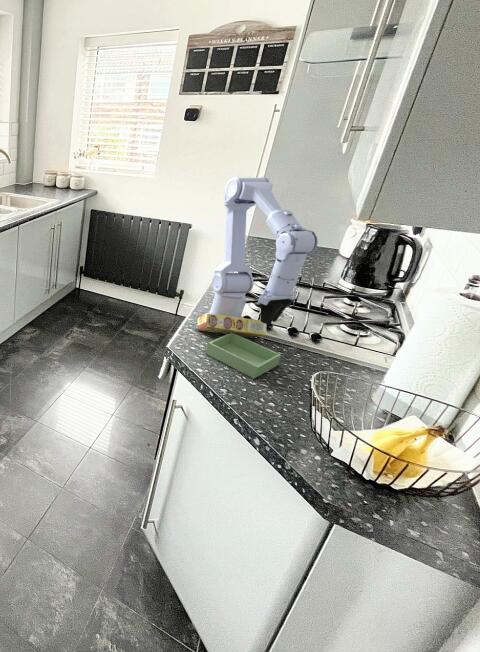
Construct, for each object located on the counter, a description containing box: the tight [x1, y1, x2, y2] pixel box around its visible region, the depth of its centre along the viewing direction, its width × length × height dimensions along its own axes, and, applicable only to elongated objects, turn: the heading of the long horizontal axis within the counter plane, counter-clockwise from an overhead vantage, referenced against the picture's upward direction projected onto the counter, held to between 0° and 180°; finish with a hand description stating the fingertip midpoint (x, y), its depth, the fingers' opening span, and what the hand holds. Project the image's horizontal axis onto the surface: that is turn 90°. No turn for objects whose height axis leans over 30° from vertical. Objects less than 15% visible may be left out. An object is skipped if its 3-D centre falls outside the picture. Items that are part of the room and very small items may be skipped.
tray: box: [204, 332, 282, 379], centre depth 114 cm, size 11×13×4 cm
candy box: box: [197, 313, 267, 339], centre depth 123 cm, size 9×4×15 cm
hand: (268, 321), depth 115 cm, fingers closed
